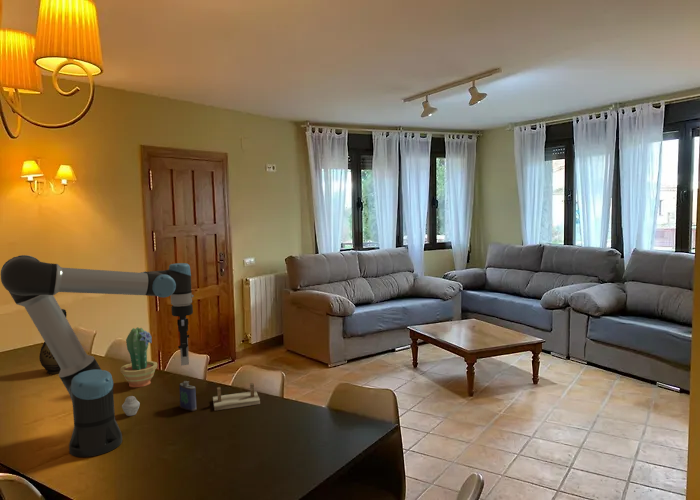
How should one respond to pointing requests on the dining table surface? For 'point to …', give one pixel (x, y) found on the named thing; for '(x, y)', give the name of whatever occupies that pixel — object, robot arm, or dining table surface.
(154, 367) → the potted cactus
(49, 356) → the ceramic jug
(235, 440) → the dining table surface
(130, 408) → the white rounded jar
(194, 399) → the flask
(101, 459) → the dining table surface
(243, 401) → the slice holder
